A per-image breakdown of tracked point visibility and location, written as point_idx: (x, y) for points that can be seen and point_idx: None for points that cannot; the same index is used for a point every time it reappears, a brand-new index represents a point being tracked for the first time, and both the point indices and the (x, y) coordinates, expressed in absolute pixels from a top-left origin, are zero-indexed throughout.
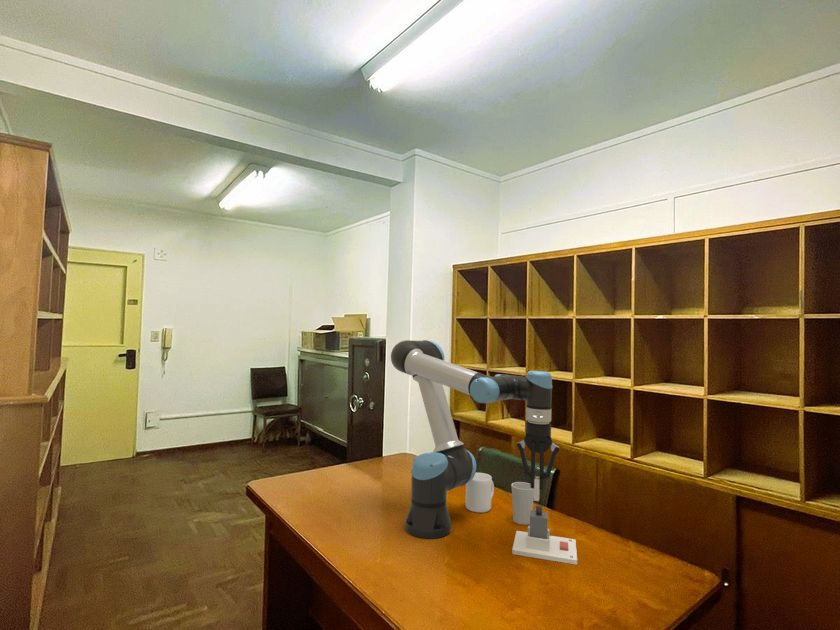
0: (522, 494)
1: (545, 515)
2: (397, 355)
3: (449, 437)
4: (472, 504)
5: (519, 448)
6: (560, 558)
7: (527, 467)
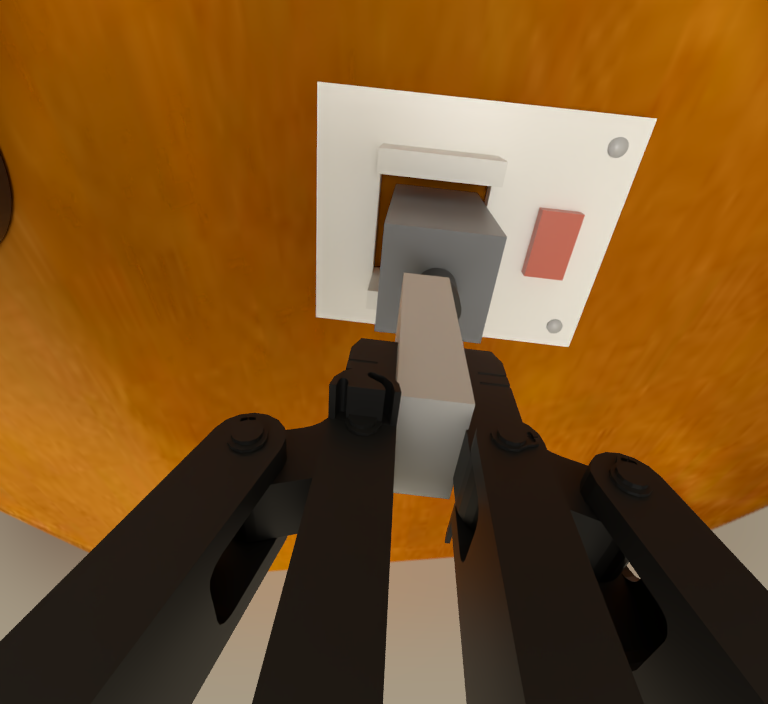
0: None
1: (478, 295)
2: None
3: None
4: None
5: None
6: (504, 337)
7: (232, 624)
